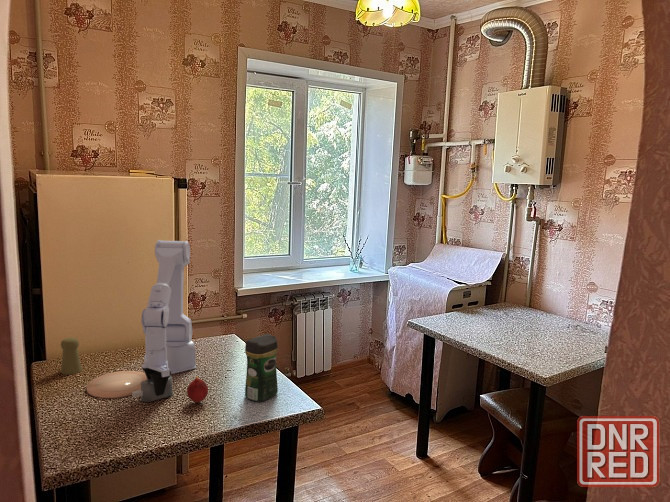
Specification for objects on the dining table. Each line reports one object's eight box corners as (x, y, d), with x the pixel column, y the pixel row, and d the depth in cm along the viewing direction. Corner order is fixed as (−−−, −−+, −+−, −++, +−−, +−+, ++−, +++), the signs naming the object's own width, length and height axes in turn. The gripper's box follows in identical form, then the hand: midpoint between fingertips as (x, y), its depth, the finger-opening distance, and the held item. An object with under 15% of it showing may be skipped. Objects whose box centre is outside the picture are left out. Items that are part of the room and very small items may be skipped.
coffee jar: (263, 386, 151) (264, 329, 148) (281, 394, 146) (282, 335, 143) (239, 397, 143) (240, 337, 140) (258, 405, 138) (259, 344, 135)
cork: (72, 375, 154) (70, 342, 152) (56, 373, 155) (54, 340, 153) (85, 368, 159) (84, 336, 158) (70, 366, 161) (68, 334, 159)
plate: (139, 368, 161) (138, 366, 161) (159, 387, 147) (159, 384, 147) (79, 382, 149) (79, 379, 149) (96, 404, 136) (96, 401, 135)
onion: (212, 400, 140) (211, 374, 139) (200, 409, 135) (200, 382, 134) (195, 396, 142) (194, 371, 141) (183, 405, 137) (182, 378, 136)
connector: (169, 389, 145) (169, 374, 144) (174, 394, 142) (174, 378, 142) (131, 400, 138) (130, 383, 137) (135, 405, 135) (135, 388, 134)
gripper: (133, 343, 141) (134, 386, 143) (151, 358, 131) (152, 405, 133) (157, 338, 146) (158, 380, 148) (176, 352, 135) (177, 398, 137)
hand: (157, 391), depth 141 cm, fingers closed on connector, 4 cm apart
